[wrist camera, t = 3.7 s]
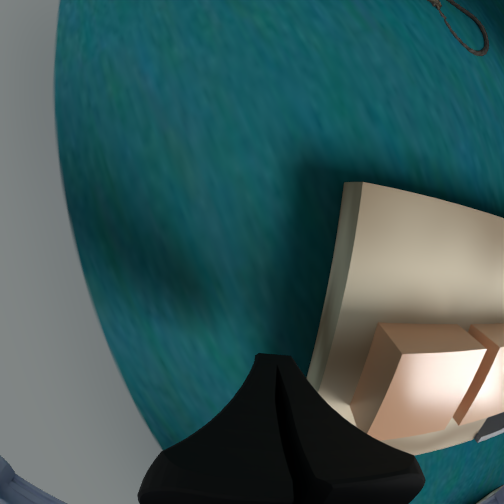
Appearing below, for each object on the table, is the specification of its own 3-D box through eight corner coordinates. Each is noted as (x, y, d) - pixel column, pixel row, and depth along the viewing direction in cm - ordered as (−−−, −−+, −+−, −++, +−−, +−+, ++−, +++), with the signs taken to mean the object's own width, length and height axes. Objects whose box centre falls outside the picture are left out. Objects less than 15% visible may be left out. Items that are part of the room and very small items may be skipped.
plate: (459, 420, 15) (473, 439, 13) (289, 437, 15) (291, 467, 13) (530, 230, 12) (555, 237, 10) (343, 182, 12) (363, 182, 10)
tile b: (488, 388, 12) (508, 410, 9) (438, 397, 12) (458, 426, 9) (517, 322, 11) (543, 340, 8) (470, 324, 11) (499, 347, 8)
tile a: (425, 399, 12) (444, 429, 9) (349, 405, 12) (362, 442, 9) (457, 324, 11) (486, 349, 8) (378, 322, 11) (402, 353, 8)
